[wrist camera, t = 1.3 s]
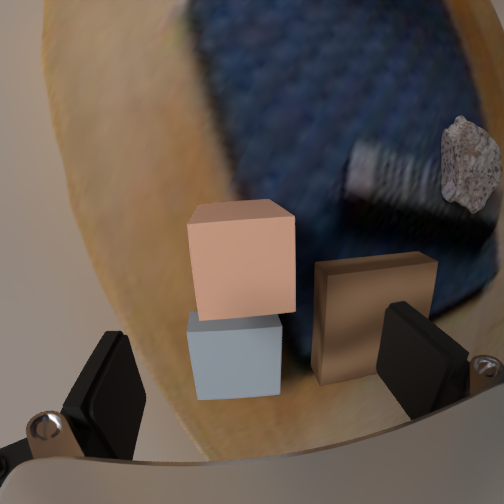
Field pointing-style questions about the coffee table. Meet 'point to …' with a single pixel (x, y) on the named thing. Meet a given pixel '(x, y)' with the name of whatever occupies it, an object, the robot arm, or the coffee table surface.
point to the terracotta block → (242, 259)
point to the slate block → (235, 356)
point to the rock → (469, 164)
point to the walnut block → (362, 309)
